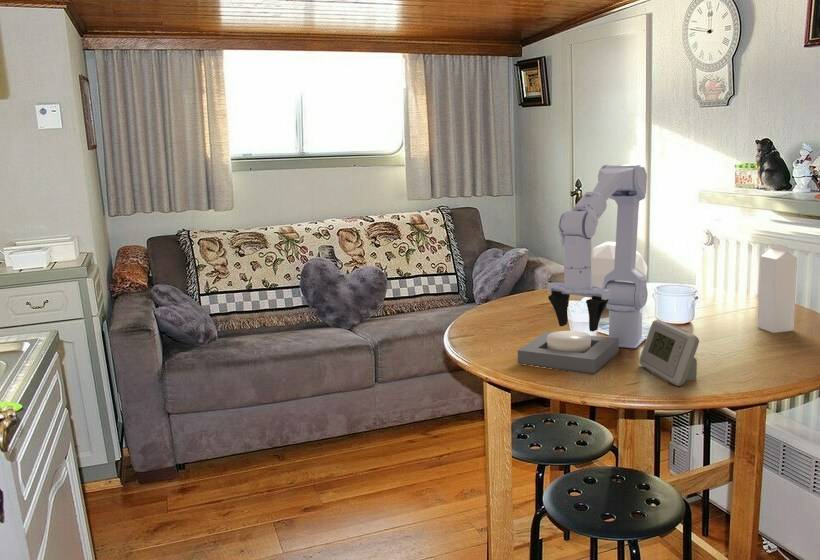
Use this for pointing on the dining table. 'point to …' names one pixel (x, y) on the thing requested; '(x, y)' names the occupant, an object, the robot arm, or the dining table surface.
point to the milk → (777, 289)
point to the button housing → (569, 355)
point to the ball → (609, 263)
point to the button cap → (569, 341)
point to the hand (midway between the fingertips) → (578, 327)
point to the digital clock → (670, 353)
